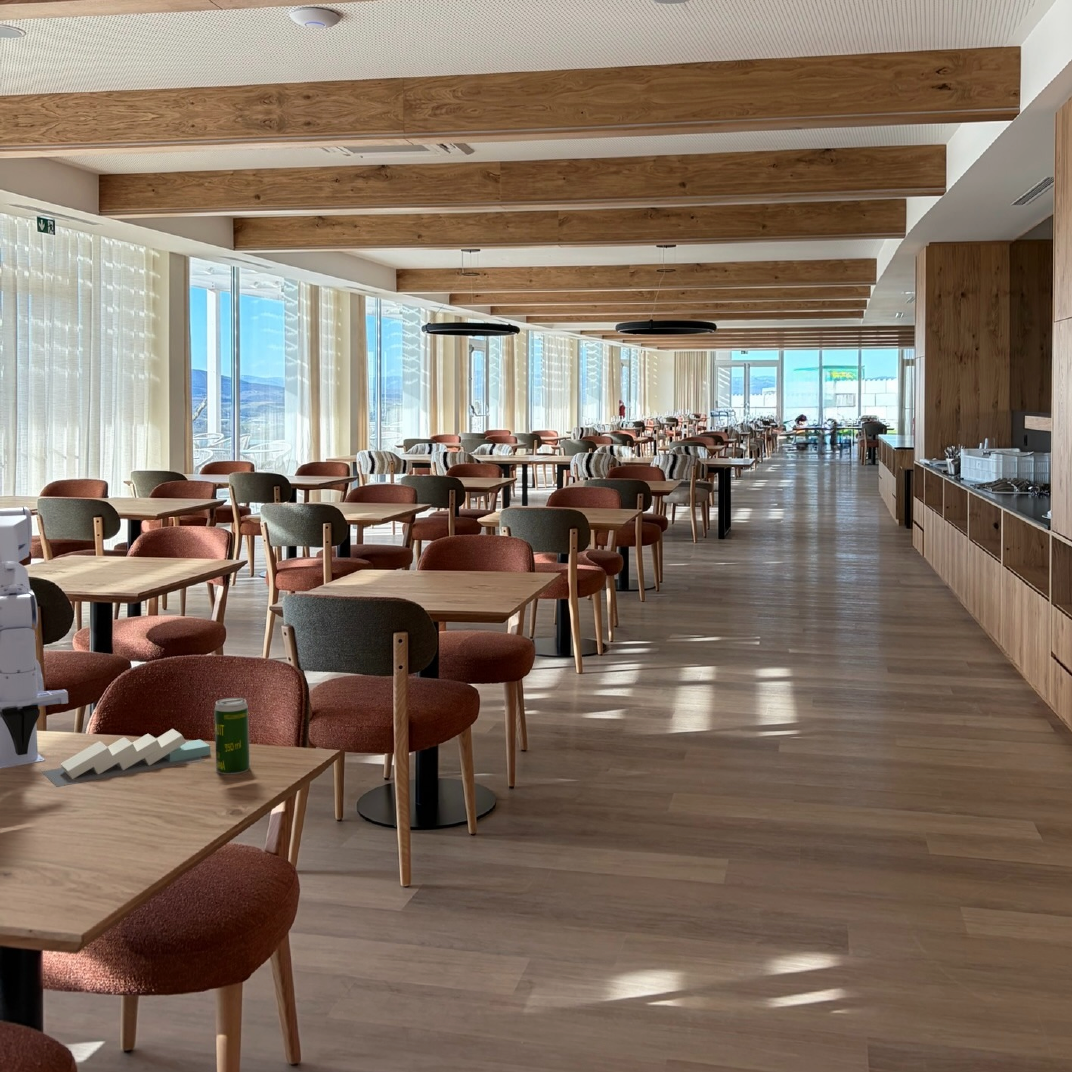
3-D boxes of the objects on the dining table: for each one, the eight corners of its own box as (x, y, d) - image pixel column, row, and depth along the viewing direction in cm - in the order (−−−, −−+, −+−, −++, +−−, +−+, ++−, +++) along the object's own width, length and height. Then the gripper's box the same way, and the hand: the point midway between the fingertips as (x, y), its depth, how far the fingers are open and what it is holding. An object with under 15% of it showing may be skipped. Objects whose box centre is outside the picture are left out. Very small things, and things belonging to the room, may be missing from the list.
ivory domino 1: (68, 771, 189) (108, 747, 193) (60, 763, 193) (99, 740, 197) (72, 779, 190) (112, 755, 193) (64, 771, 194) (103, 748, 197)
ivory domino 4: (144, 757, 196) (182, 734, 200) (136, 750, 201) (172, 728, 204) (149, 765, 197) (186, 742, 200) (140, 758, 201) (176, 736, 204)
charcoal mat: (41, 774, 194) (41, 771, 194) (184, 749, 208) (184, 747, 208) (56, 789, 186) (56, 786, 186) (204, 763, 200) (204, 760, 200)
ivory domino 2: (93, 766, 192) (132, 743, 195) (85, 759, 196) (123, 736, 199) (98, 774, 192) (137, 751, 196) (89, 767, 196) (128, 744, 200)
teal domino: (169, 752, 199) (210, 745, 203) (160, 746, 203) (199, 739, 207) (170, 761, 199) (210, 754, 203) (160, 755, 203) (200, 748, 207)
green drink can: (242, 765, 198) (240, 696, 197) (255, 773, 194) (253, 702, 193) (211, 771, 195) (209, 700, 194) (224, 779, 191) (221, 707, 190)
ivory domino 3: (119, 762, 194) (157, 739, 197) (110, 755, 198) (148, 733, 201) (123, 770, 194) (161, 747, 198) (114, 763, 199) (152, 741, 202)
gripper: (-28, 680, 179) (-23, 767, 180) (71, 668, 187) (75, 751, 188) (-37, 672, 184) (-32, 756, 186) (60, 660, 193) (64, 741, 194)
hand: (21, 753), depth 187 cm, fingers closed
